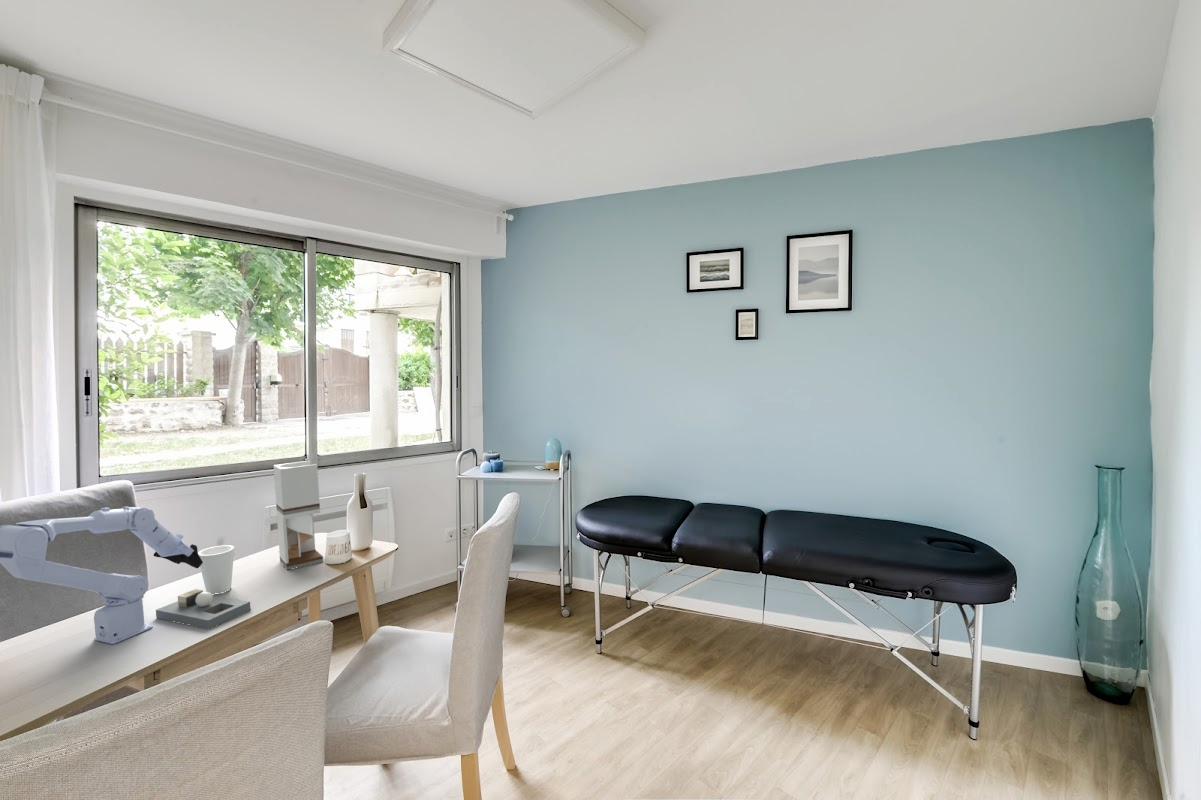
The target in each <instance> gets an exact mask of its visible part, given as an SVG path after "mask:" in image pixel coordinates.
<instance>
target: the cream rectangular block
mask: <svg viewBox="0 0 1201 800" xmlns="http://www.w3.org/2000/svg"><path fill="white" fill-rule="evenodd" d="M202 592H204V590H203V589H197V588H194V589H192V590H190V591H187V592H185V593H182V594H179V595H177V601H178V606H180V607H185V608H186V607H189V606H191V605H194V604H196V601H195V600H196V597H197V595H198V594H200V593H202Z"/></svg>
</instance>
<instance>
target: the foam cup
mask: <svg viewBox="0 0 1201 800" xmlns="http://www.w3.org/2000/svg"><path fill="white" fill-rule="evenodd" d="M198 554H199V556H200V558H201V560H202V562H203V563H202V564H201V566H200V567H199V568H200V572H201V576H202V580H203V584H204V589H205V592H210V593H211V594H215V593H221V592H225V591H227V590H229V589H230V588H231V589H232V581H233V568H234V567H233V566H234V558H235V546H234V545H231V544H230V545H228V544H226V545H225V544H224V545H217V546H211V547H207V548H204V549H202V550H199V551H198ZM229 591H230V590H229ZM225 593H226V592H225Z"/></svg>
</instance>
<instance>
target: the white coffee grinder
mask: <svg viewBox="0 0 1201 800" xmlns="http://www.w3.org/2000/svg"><path fill="white" fill-rule="evenodd" d="M310 461H311V460H304V461H295V462H287V463H280V464H273V474H274V475H273V476H274V489H275V490H274V491H275V492H274V493H275V505H276V507H275V508H276V509H275V510H276V520H277V521H276V523H277V524H276V525H277V535H278V536H277V537H278V549H279V550H278V552H279V553H278V554H279V563H280V562H281V563H282V564H283V565H282V564H281V563H280V564H281V565H282V566H283V568H284V569H285V568H286V569H291V570H293V569H292V568H295V569H297V568H296V567H299V568H303V567H302V566H304V567H307V566H306V565H308V566H311V564H312V565H317V564H320V562H321V563H324V556H323V555H322V554H321V553H320V552H319V551H317V550H316V542H315V541H316V540H315V539H316V538H315V524H314V523H315V520H314V515H315V514H320V513H321V507H320V506H321V505H320V491H319V489H320V488H319V486H320V485H319V476H318V475H319V473H318V472H319V470H318V464H317V463H314V464H311V462H310ZM286 569H285V570H286Z"/></svg>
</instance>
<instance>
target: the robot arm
mask: <svg viewBox="0 0 1201 800" xmlns="http://www.w3.org/2000/svg"><path fill="white" fill-rule="evenodd" d="M87 530H88V531H90V533H92V534H105V533H106V534H107V533H113V532H120V531H121V532H122V531H125V530H129V531H130V532H131V533H132V534H133V535H135V536H136V537H137V538H139V539H140V540H141V541H142V542H143V543H144V544H146V545H147V546H148V547H150V549H153V550H154V553H153V557H156V558H162V559H165V560H167V561H170V562H172V563H175V564H177V565H180V564H182V563H183V564H187V565H189V566H190V567H192V568H194V569H199V568H200V566H201V564H202V563H203V562H202V560H201V558H200V556H199V554H198V552H199V551H198V546H197V545H196V544H191V545H190V546H188V545H187V544H186V542H184V541H183V540H182V539H183V538H184V535H183V534H182V533H181V534H180V533H177V534H176V535H175V534H174V533H173V532H172V531H170V530H169V529H168V528H167V527H166V526H165V525H164V524H162V523H161V522H160V521H158V520H157V519H156V518H155V513H154V511H153V509H149V508H146V507H134V506H130V507H129V506H122V507H121V508H114V509H111V508H110V507H101V508H100V510H94V511H92V512H91V513H90V514H89V515H88V516H79V517H78V516H77V517H63V518H62V517H61V518H47V519H46V518H44V519H37V520H29V521H28V520H27V521H21V522H16V523H15V525H14V524H2V525H0V564H1V566H2V567H3V568H5V570H7V572H8V573H9V575H11V576H13V577H14V578H16V579H22V580H26V581H33V582H37V583H43V584H45V583H46V584H49V585H50V584H51V585H57V586H61V587H67V588H72V589H79V590H85V591H90V592H93V593H97V594H98V595H99V596H100V597H102V598H104V603H106V604H105V605H103V606H102V607H101V608H98V609H97V610H96V611H95V612H94V615H93V623H94V630H95V631H94V632H95V637H94V638H93V640H94V641H98V642H101V643H102V642H103V643H107V644H110V645H115V644H117V643H119V642H122V641H124V640H126V639H129V638H132V637H134V636H137V635H138V634H141V633H143V632H146V631H148V630H150V629H153V627H154V625H150V624H147V623H146V624H145V615H144V604H143V602H144V601H143V598H144V597H145V596H144V595H145V594H146V592H147V591H148V589H149V580H148V579H147V578H146V576H144V575H131V574H121V573H118V572H117V573H115V572H113V573H106V572H101V571H96V570H91V569H87V568H81V567H79V566H78V567H77V566H71V565H67V564H62V563H59V562H58V563H57V562H52V561H48V560H46V557H47V550H48V542H53V541H54V540H55V537H56V536H57V535H59V534H66V533H67V534H68V533H74V532H79V531H80V532H82V531H87Z"/></svg>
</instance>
